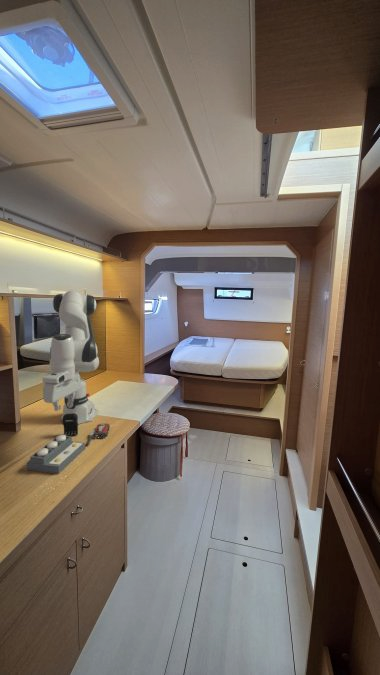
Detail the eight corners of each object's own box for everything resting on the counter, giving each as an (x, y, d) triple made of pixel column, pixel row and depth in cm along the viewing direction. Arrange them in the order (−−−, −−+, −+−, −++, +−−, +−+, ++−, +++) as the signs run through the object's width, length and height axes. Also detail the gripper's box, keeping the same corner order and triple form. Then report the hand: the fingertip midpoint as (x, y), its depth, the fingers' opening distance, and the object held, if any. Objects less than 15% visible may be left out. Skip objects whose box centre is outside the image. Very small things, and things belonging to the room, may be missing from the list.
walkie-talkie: (93, 428, 146) (85, 447, 126) (93, 420, 145) (85, 438, 126) (110, 427, 147) (104, 446, 128) (110, 420, 147) (104, 437, 127)
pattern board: (57, 445, 126) (57, 434, 126) (85, 448, 124) (84, 437, 124) (26, 469, 108) (26, 456, 107) (58, 473, 106) (58, 460, 105)
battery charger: (62, 437, 134) (61, 415, 133) (64, 434, 138) (63, 412, 137) (77, 436, 135) (76, 415, 134) (78, 433, 139) (78, 412, 138)
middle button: (51, 445, 118) (51, 440, 118) (59, 445, 118) (59, 441, 117) (45, 449, 114) (44, 445, 114) (53, 450, 114) (53, 446, 113)
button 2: (59, 438, 124) (59, 434, 124) (67, 439, 123) (67, 435, 123) (54, 442, 120) (54, 438, 120) (62, 443, 119) (62, 439, 119)
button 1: (41, 452, 112) (41, 447, 112) (50, 453, 112) (50, 448, 111) (34, 457, 108) (34, 452, 108) (43, 458, 108) (43, 453, 107)
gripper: (71, 368, 122) (72, 397, 123) (39, 379, 102) (40, 414, 103) (84, 368, 121) (84, 398, 122) (54, 380, 101) (55, 416, 102)
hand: (64, 406), depth 113 cm, fingers open, 7 cm apart
